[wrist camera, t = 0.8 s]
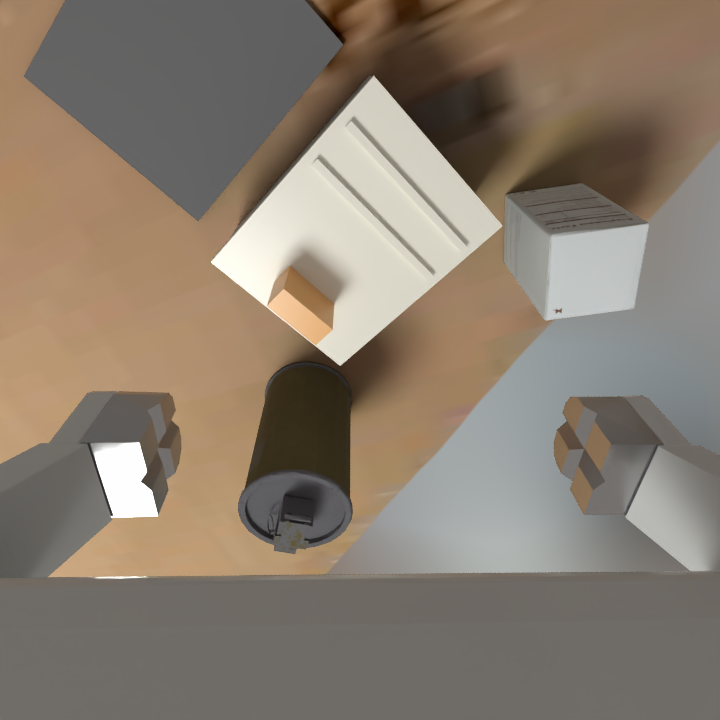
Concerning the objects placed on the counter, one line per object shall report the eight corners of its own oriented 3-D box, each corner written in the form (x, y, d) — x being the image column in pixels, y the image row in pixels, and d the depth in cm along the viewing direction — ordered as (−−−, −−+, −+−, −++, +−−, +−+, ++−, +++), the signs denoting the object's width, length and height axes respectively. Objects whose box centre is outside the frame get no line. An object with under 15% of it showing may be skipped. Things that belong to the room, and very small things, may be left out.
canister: (273, 353, 56) (239, 487, 39) (361, 371, 57) (366, 508, 41) (258, 424, 62) (224, 568, 45) (339, 439, 63) (336, 583, 46)
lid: (372, 73, 35) (376, 80, 29) (495, 217, 41) (518, 245, 35) (216, 252, 42) (196, 285, 36) (340, 353, 48) (339, 395, 42)
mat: (161, -167, 33) (158, -170, 33) (343, 44, 40) (343, 44, 39) (27, 75, 41) (23, 76, 40) (199, 219, 47) (198, 221, 47)
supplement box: (575, 254, 50) (635, 312, 40) (501, 264, 50) (542, 323, 40) (584, 180, 46) (654, 222, 35) (504, 190, 46) (549, 235, 36)
